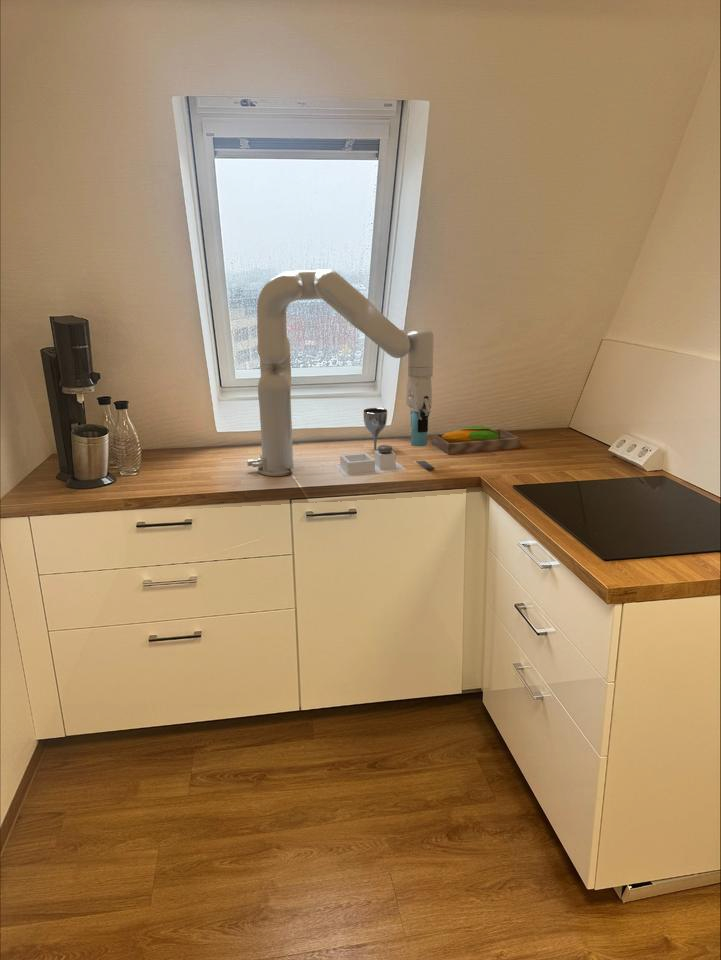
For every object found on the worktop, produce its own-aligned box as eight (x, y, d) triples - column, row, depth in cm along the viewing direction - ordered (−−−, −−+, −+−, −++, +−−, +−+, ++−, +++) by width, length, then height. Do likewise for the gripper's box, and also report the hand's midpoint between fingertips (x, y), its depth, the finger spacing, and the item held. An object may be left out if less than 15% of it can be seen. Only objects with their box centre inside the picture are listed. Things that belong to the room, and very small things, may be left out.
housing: (343, 481, 200) (343, 461, 198) (333, 469, 211) (333, 451, 209) (406, 474, 205) (406, 456, 203) (393, 463, 216) (393, 446, 214)
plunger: (380, 467, 206) (380, 449, 204) (376, 463, 210) (376, 445, 208) (393, 466, 207) (394, 448, 206) (389, 462, 211) (389, 444, 210)
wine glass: (377, 458, 222) (378, 414, 217) (358, 454, 227) (358, 411, 222) (391, 453, 228) (391, 409, 223) (372, 449, 233) (372, 406, 228)
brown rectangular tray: (447, 454, 226) (448, 444, 225) (431, 443, 240) (431, 434, 238) (519, 447, 234) (520, 438, 233) (500, 437, 247) (500, 428, 246)
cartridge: (414, 447, 207) (414, 407, 203) (407, 442, 212) (408, 404, 208) (430, 445, 208) (431, 406, 204) (423, 441, 213) (424, 402, 209)
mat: (410, 472, 208) (410, 469, 208) (401, 465, 215) (401, 462, 215) (434, 470, 210) (434, 467, 210) (424, 462, 217) (424, 460, 217)
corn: (501, 428, 229) (442, 427, 230) (500, 450, 231) (442, 449, 232) (498, 424, 237) (441, 424, 238) (497, 445, 239) (440, 445, 240)
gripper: (399, 368, 209) (398, 424, 215) (419, 377, 194) (418, 437, 200) (421, 366, 212) (420, 422, 217) (443, 375, 196) (441, 435, 202)
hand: (419, 429), depth 209 cm, fingers closed on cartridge, 5 cm apart
